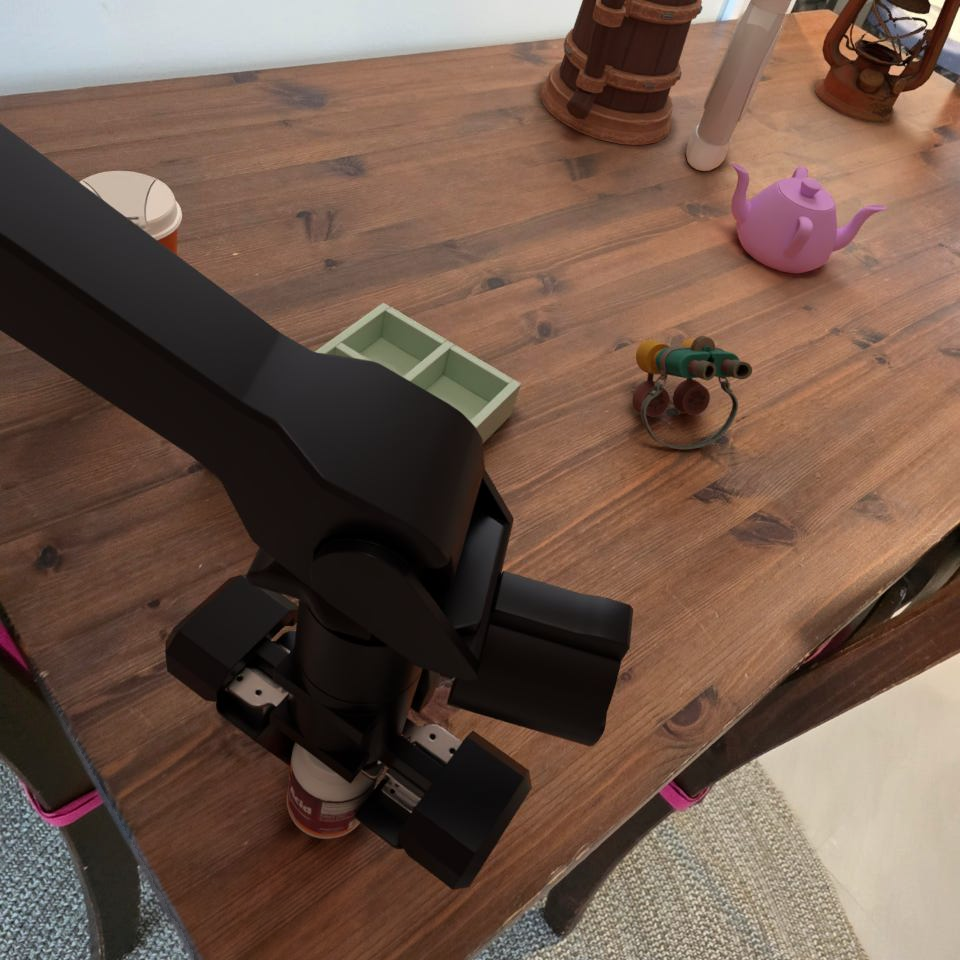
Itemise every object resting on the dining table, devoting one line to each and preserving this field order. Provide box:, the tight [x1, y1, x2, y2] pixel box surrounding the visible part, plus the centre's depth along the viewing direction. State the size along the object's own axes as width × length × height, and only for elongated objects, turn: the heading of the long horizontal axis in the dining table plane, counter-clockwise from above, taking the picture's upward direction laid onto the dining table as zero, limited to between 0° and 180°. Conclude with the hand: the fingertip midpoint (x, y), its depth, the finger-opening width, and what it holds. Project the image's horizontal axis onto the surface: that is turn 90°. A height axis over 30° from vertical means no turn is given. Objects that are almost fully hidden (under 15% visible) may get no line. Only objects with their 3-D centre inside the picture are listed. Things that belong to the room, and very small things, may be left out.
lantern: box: [814, 0, 960, 124], centre depth 130 cm, size 17×13×30 cm
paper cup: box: [79, 170, 183, 256], centre depth 68 cm, size 8×8×14 cm
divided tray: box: [314, 302, 522, 444], centre depth 70 cm, size 14×21×4 cm
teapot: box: [730, 162, 888, 274], centre depth 101 cm, size 12×14×9 cm
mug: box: [539, 0, 703, 146], centre depth 111 cm, size 18×23×20 cm
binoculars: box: [631, 335, 753, 450], centre depth 76 cm, size 9×9×10 cm
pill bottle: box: [286, 742, 381, 840], centre depth 48 cm, size 5×5×8 cm
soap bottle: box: [685, 0, 793, 172], centre depth 108 cm, size 13×8×24 cm, turn 157°
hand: (331, 786), depth 50 cm, fingers closed on pill bottle, 5 cm apart
